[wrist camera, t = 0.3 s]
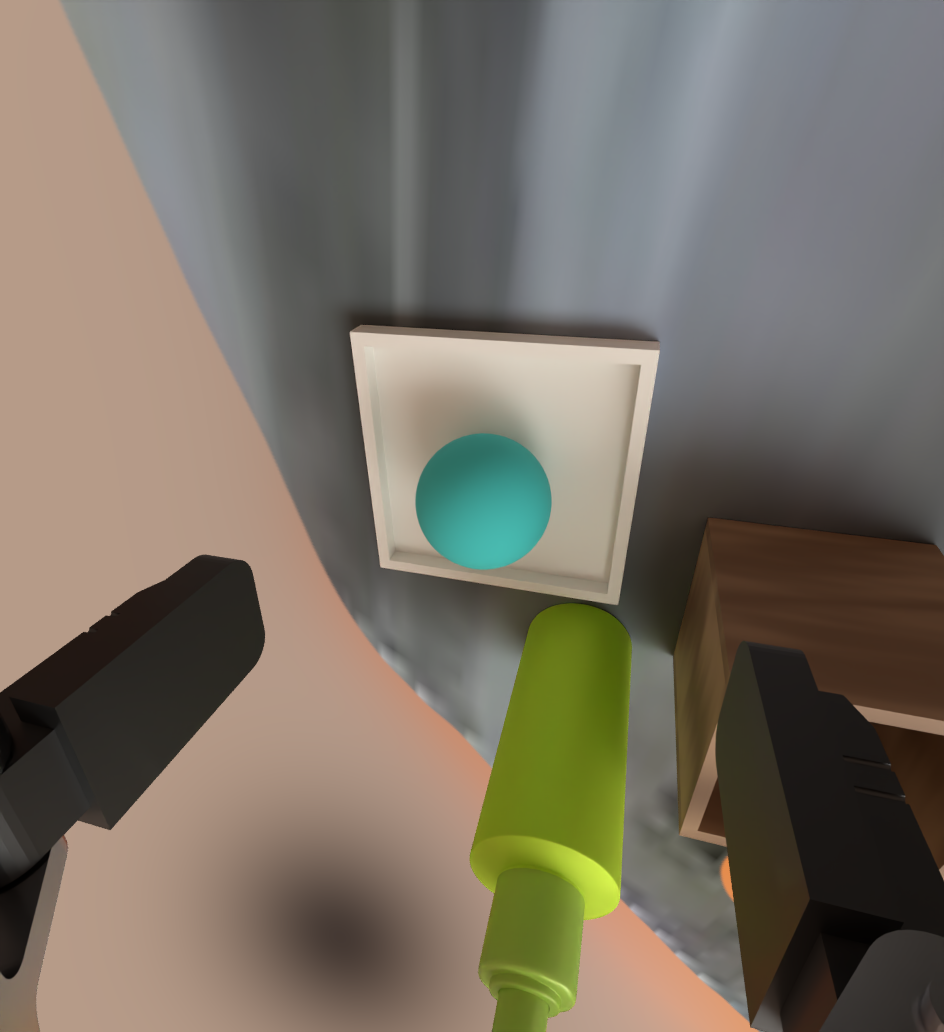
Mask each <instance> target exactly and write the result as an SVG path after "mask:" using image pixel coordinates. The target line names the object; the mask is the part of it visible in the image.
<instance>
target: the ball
mask: <svg viewBox="0 0 944 1032" xmlns="http://www.w3.org/2000/svg"><path fill="white" fill-rule="evenodd" d="M551 506H552V497H551V489H550V484H549V481H548V478H547V476H546V473H545V471H544V469H543V467H542V466H541V464H540V463H539V461H538V460H537V459H536V457H535V456H534V455H533V454H532V453H531V452H530V451H529V450H528V449H526V448H525V447H524V446H522V445H521V444H519V443H518V442H516V441H514V440H512V439H509V438H507V437H504V436H500V435H495V434H488V433H479V434H471V435H467V436H463V437H460V438H458V439H455V440H453V441H451V442H449V443H448V444H446V445H445V446H443V447H442V448H441V449H439V450H438V451H437V452H436V453H435V454H434V455H433V456H432V458H431V459H430V460H429V461H428V463H427V464H426V466H425V468H424V469H423V471H422V473H421V475H420V478H419V481H418V485H417V489H416V498H415V507H416V514H417V518H418V522H419V525H420V527H421V530H422V532H423V534H424V535H425V537H426V539H427V540H428V542H429V543H430V544H431V546H432V547H433V548H434V549H435V550H436V551H437V552H438V553H439V554H441V555H442V556H443V557H445V558H446V559H448V560H450V561H451V562H453V563H455V564H458V565H460V566H463V567H466V568H471V569H479V570H488V569H496V568H500V567H504V566H507V565H509V564H512V563H514V562H516V561H517V560H519V559H521V558H522V557H524V556H525V555H526V554H527V553H529V552H530V551H531V550H532V549H533V548H534V547H535V546H536V544H537V543H538V541H539V540H540V539H541V537H542V536H543V534H544V532H545V530H546V527H547V525H548V522H549V519H550V513H551Z"/></svg>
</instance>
